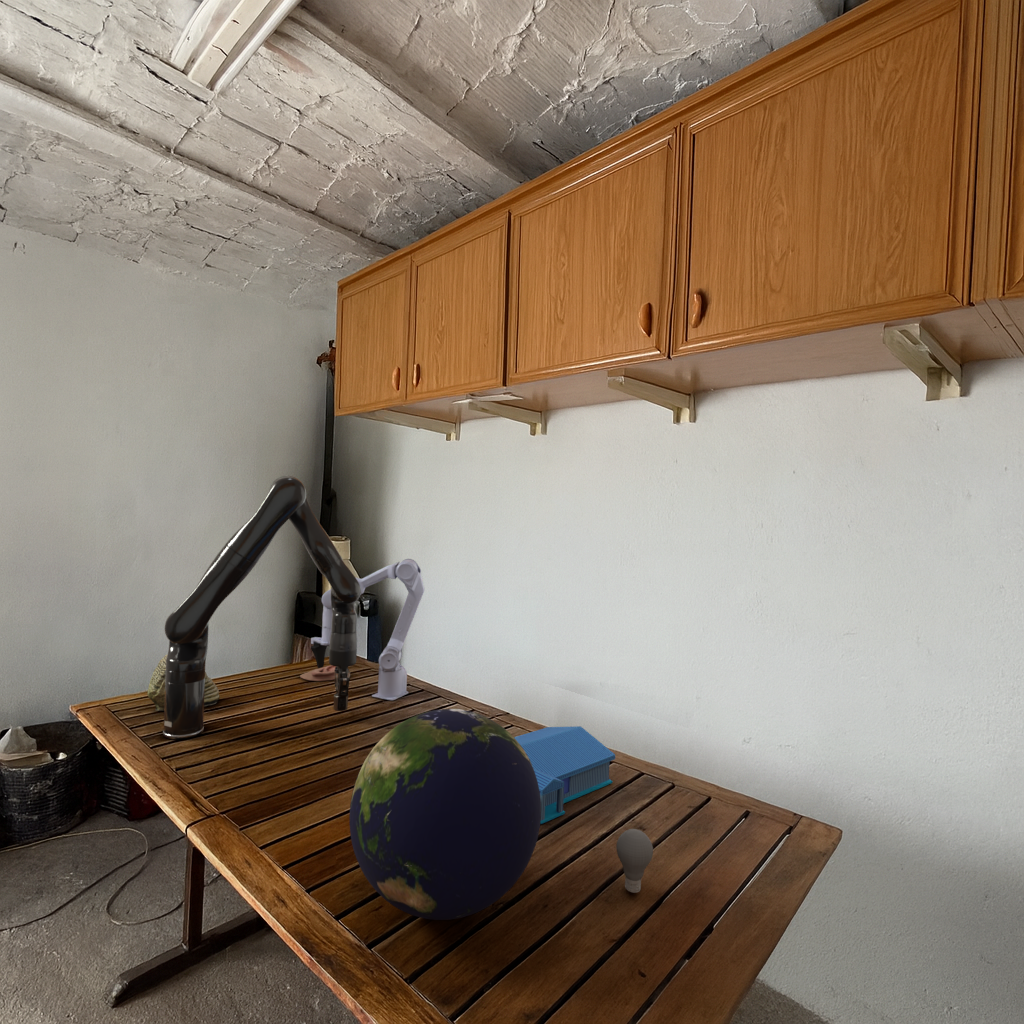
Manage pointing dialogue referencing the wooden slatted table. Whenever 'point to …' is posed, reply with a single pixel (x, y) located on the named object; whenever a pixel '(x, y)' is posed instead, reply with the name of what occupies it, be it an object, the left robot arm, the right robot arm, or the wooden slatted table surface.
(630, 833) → the light bulb
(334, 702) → the can
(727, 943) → the wooden slatted table surface
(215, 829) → the wooden slatted table surface
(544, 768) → the model building
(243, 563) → the left robot arm
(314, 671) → the anatomical model
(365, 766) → the globe
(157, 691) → the fossil
